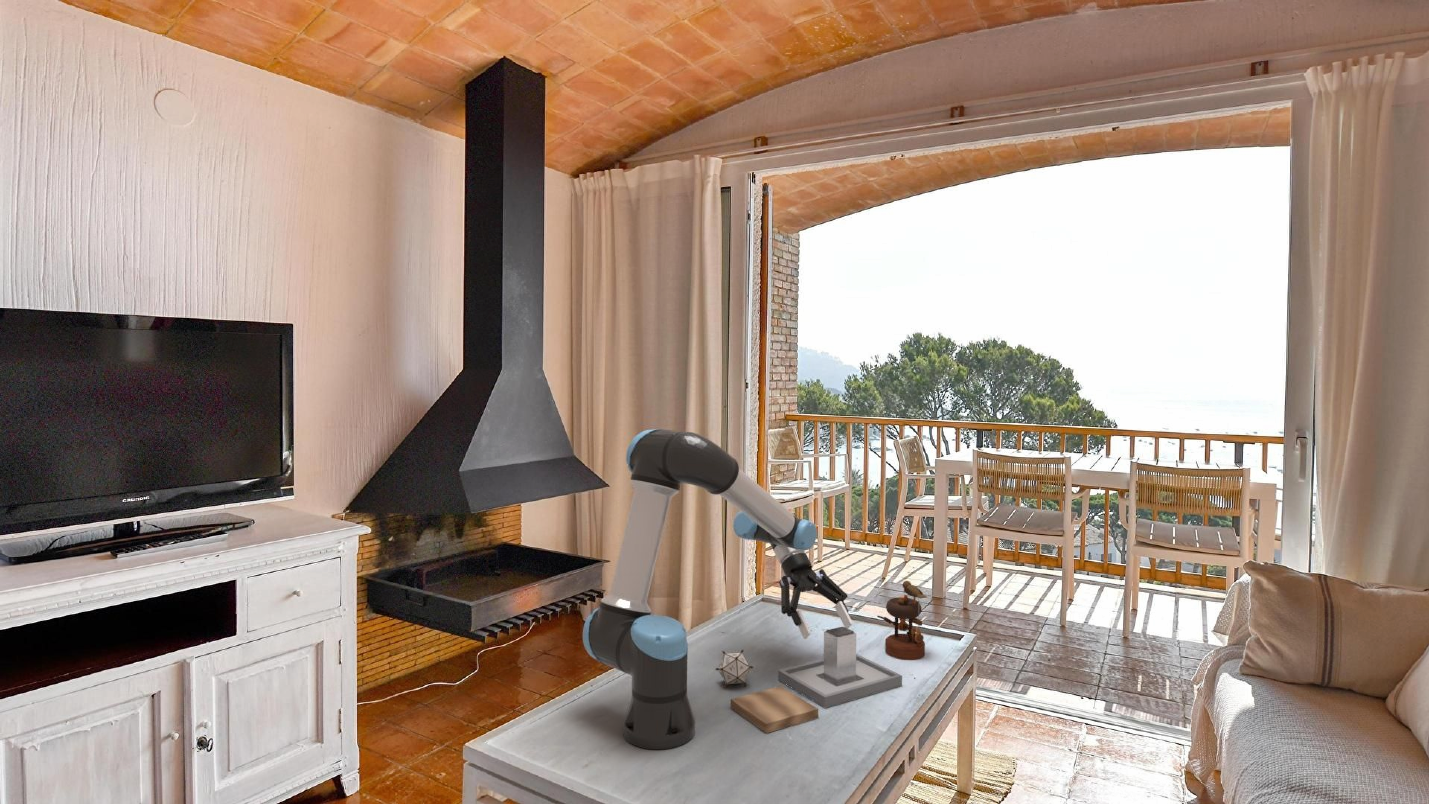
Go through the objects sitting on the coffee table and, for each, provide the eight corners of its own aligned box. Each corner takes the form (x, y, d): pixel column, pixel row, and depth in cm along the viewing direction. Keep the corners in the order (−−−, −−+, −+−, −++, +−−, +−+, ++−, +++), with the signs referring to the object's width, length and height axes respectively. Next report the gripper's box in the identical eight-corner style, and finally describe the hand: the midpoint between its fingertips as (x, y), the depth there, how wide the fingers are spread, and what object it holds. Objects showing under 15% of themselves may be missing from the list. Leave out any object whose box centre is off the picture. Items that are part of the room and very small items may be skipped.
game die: (738, 702, 183) (744, 679, 176) (708, 685, 185) (712, 662, 179) (754, 673, 189) (760, 650, 183) (724, 657, 192) (729, 634, 185)
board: (766, 733, 159) (766, 724, 159) (730, 707, 171) (730, 699, 171) (818, 717, 166) (818, 708, 166) (780, 694, 178) (780, 686, 178)
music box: (938, 654, 204) (936, 582, 202) (916, 668, 197) (914, 594, 195) (890, 639, 215) (888, 571, 213) (867, 652, 208) (865, 581, 206)
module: (836, 689, 181) (837, 636, 181) (823, 682, 186) (824, 629, 185) (855, 684, 184) (856, 631, 184) (842, 677, 189) (842, 625, 188)
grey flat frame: (825, 708, 171) (825, 697, 171) (778, 680, 187) (778, 670, 186) (901, 685, 184) (902, 675, 183) (852, 661, 199) (852, 651, 199)
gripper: (822, 560, 211) (858, 629, 199) (748, 573, 198) (782, 647, 186) (835, 545, 206) (873, 615, 194) (760, 557, 193) (796, 633, 181)
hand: (829, 631), depth 190 cm, fingers open, 13 cm apart
